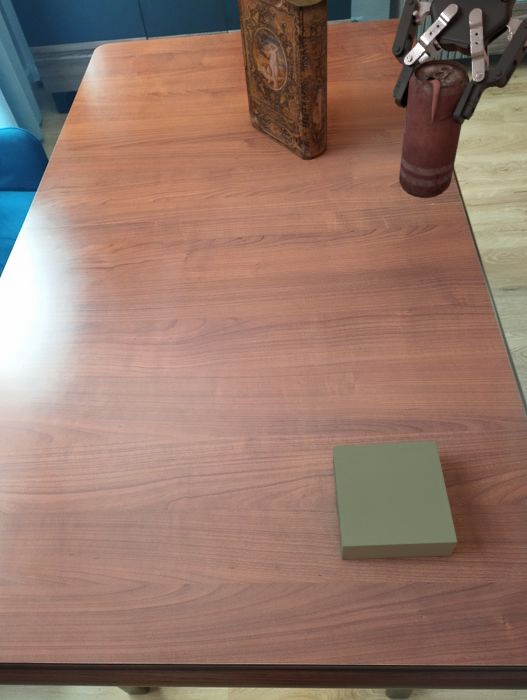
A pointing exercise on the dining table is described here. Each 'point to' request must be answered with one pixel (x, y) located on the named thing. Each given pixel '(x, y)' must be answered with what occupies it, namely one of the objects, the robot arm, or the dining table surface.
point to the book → (287, 71)
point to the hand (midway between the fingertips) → (428, 112)
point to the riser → (392, 501)
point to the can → (431, 127)
